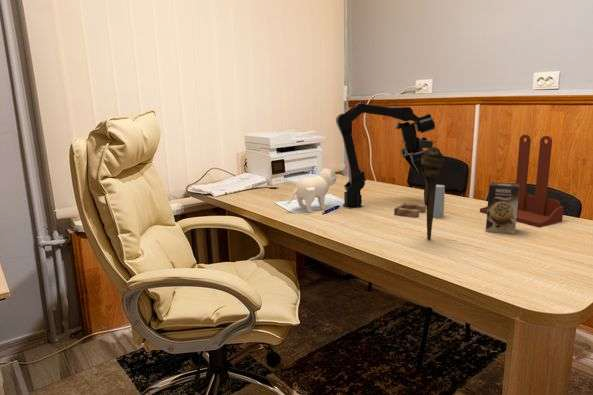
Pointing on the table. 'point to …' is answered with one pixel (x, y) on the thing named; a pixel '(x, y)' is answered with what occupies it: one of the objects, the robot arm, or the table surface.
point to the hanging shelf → (538, 206)
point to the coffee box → (502, 207)
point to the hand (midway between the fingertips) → (417, 172)
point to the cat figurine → (314, 189)
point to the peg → (439, 202)
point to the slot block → (409, 210)
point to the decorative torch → (430, 181)
